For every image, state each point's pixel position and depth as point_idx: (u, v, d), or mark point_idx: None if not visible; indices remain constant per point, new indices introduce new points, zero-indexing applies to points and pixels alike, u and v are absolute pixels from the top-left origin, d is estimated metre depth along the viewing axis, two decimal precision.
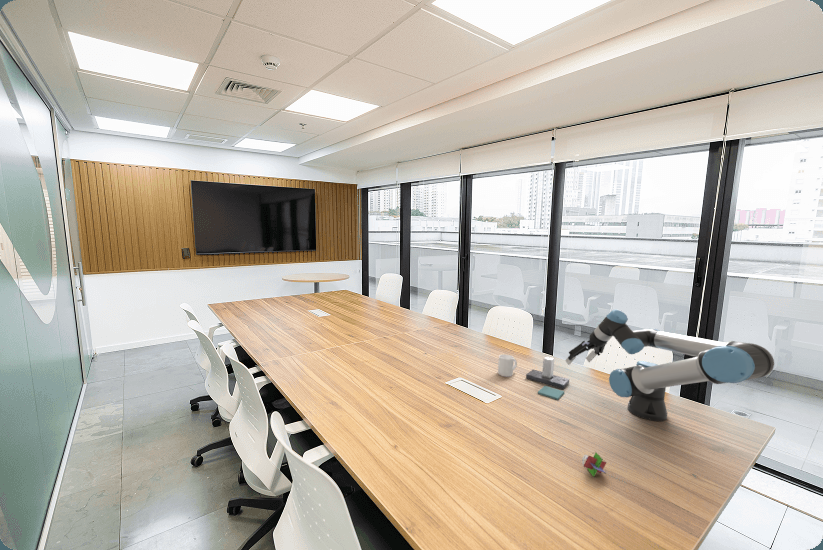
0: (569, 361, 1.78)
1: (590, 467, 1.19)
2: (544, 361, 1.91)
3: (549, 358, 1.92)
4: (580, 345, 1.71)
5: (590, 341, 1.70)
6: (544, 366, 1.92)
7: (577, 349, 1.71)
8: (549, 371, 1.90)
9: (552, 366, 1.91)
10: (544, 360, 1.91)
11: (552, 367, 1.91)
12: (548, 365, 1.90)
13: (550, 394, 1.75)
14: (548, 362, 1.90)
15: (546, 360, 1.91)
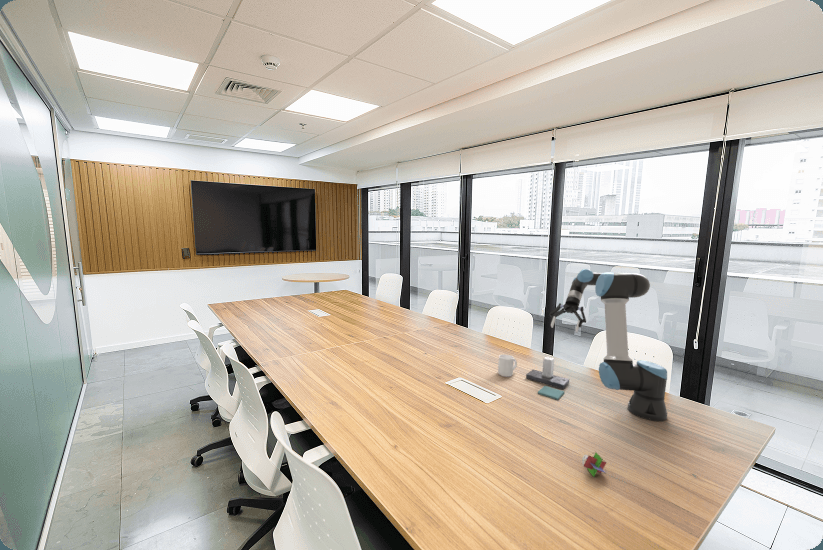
0: None
1: (590, 467, 1.19)
2: (544, 361, 1.92)
3: (549, 358, 1.92)
4: None
5: None
6: (544, 366, 1.92)
7: None
8: (549, 371, 1.90)
9: (552, 366, 1.91)
10: (544, 360, 1.91)
11: (552, 367, 1.91)
12: (548, 365, 1.90)
13: (550, 394, 1.75)
14: (548, 362, 1.90)
15: (546, 360, 1.91)
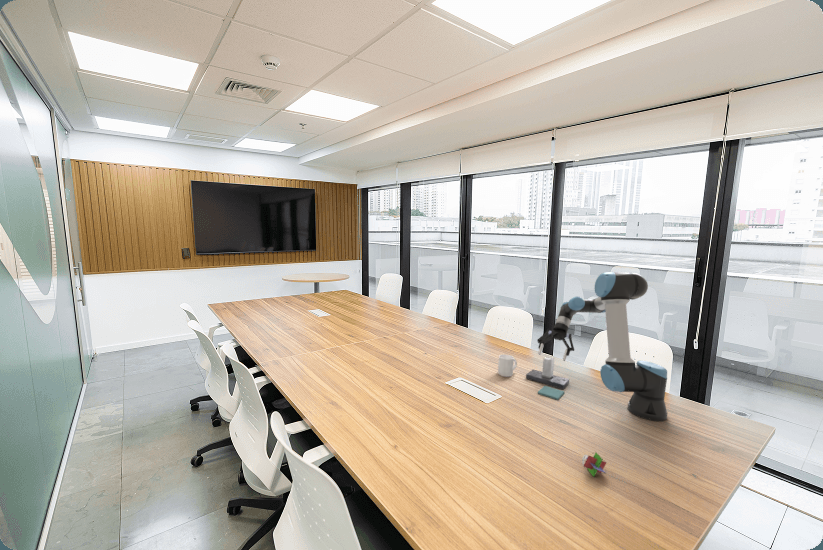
0: None
1: (590, 467, 1.19)
2: (544, 361, 1.91)
3: (549, 358, 1.92)
4: None
5: None
6: (544, 366, 1.92)
7: None
8: (549, 371, 1.90)
9: (552, 366, 1.91)
10: (544, 360, 1.91)
11: (552, 367, 1.91)
12: (548, 365, 1.90)
13: (550, 394, 1.75)
14: (548, 362, 1.90)
15: (546, 360, 1.91)
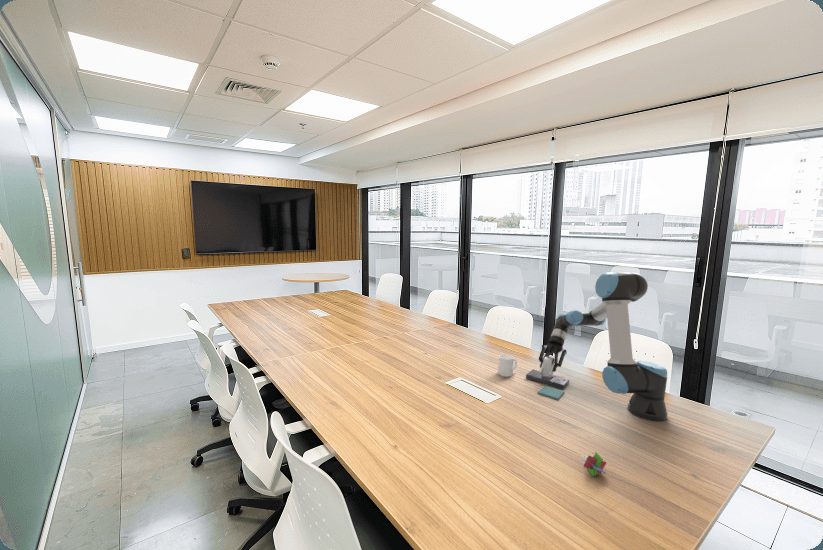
0: None
1: (590, 467, 1.19)
2: (544, 361, 1.91)
3: (549, 358, 1.92)
4: None
5: None
6: (544, 366, 1.92)
7: (541, 353, 1.99)
8: (549, 371, 1.90)
9: None
10: (544, 360, 1.91)
11: None
12: (548, 365, 1.90)
13: (550, 394, 1.75)
14: (548, 362, 1.90)
15: (546, 360, 1.91)
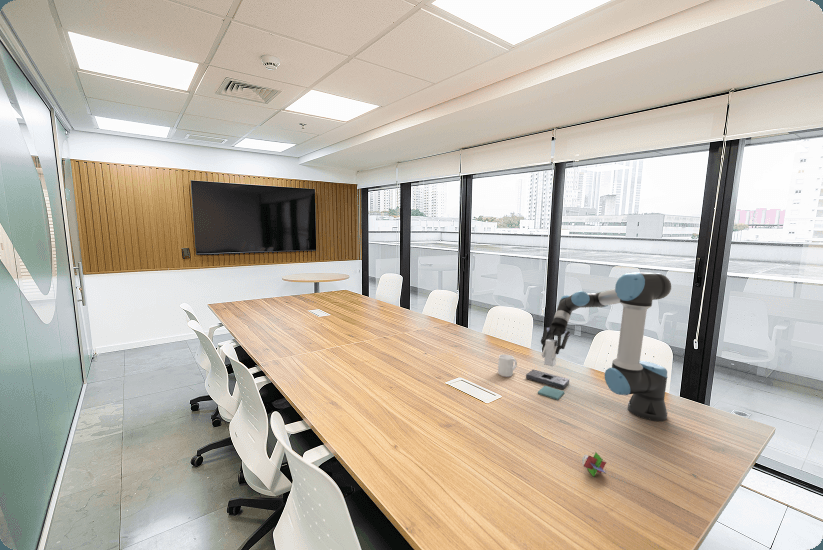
0: None
1: (590, 467, 1.19)
2: (546, 343, 1.83)
3: (552, 340, 1.83)
4: None
5: (550, 326, 1.92)
6: (546, 348, 1.83)
7: (543, 335, 1.90)
8: (552, 353, 1.81)
9: None
10: (546, 342, 1.82)
11: None
12: (551, 347, 1.81)
13: (550, 394, 1.75)
14: (551, 345, 1.81)
15: (548, 342, 1.82)
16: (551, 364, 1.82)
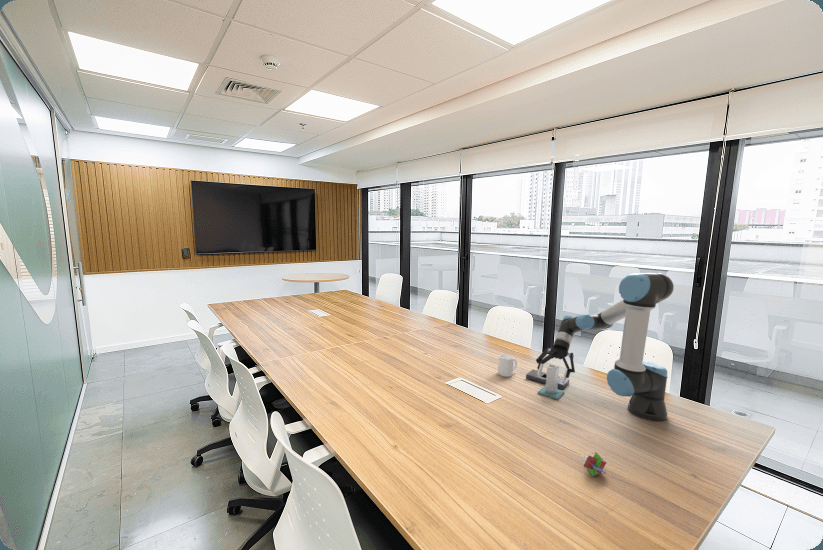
0: None
1: (590, 467, 1.19)
2: (548, 370, 1.76)
3: (553, 367, 1.76)
4: None
5: None
6: (548, 375, 1.76)
7: None
8: (553, 381, 1.75)
9: (557, 375, 1.76)
10: (548, 369, 1.76)
11: (557, 377, 1.76)
12: (552, 374, 1.75)
13: (550, 394, 1.75)
14: (552, 372, 1.75)
15: (550, 369, 1.75)
16: (552, 392, 1.75)
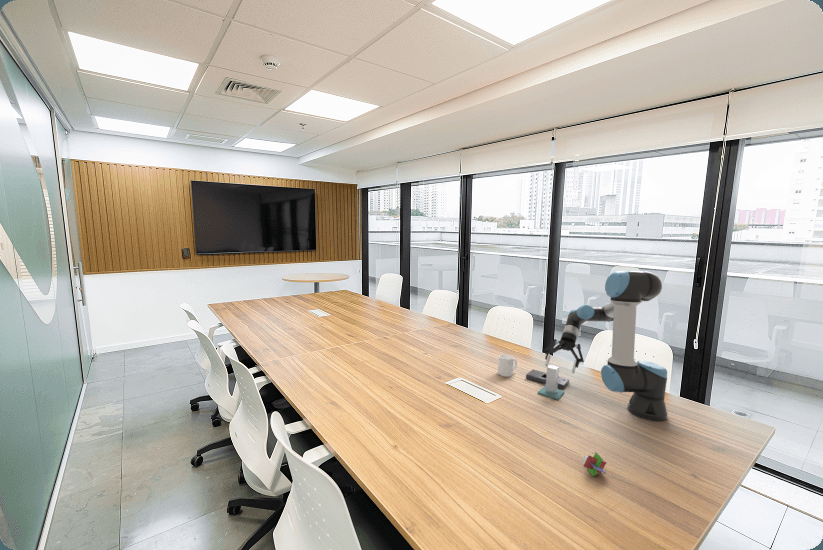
0: None
1: (590, 467, 1.19)
2: (548, 370, 1.76)
3: (553, 367, 1.76)
4: None
5: None
6: (548, 375, 1.76)
7: None
8: (553, 381, 1.75)
9: (557, 375, 1.76)
10: (548, 369, 1.76)
11: (557, 377, 1.76)
12: (552, 374, 1.75)
13: (550, 394, 1.75)
14: (552, 372, 1.75)
15: (550, 369, 1.75)
16: (552, 392, 1.75)
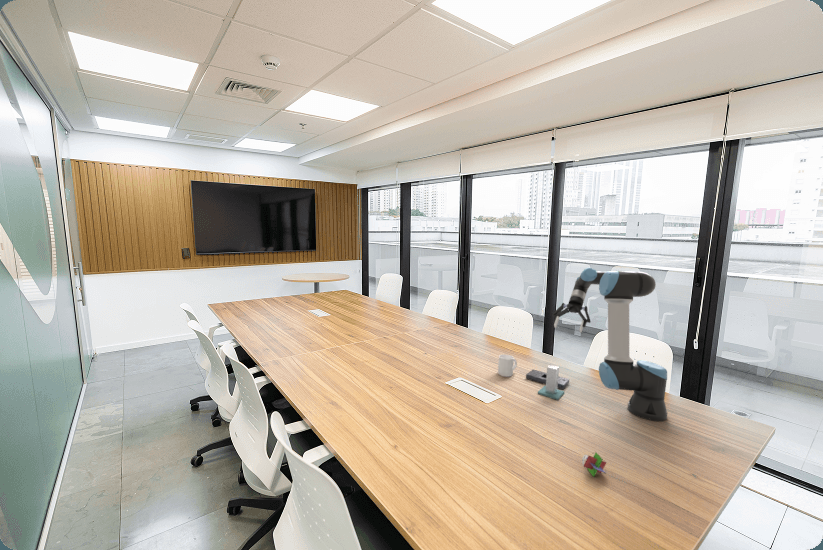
0: None
1: (590, 467, 1.19)
2: (548, 370, 1.76)
3: (553, 367, 1.76)
4: None
5: None
6: (548, 375, 1.76)
7: None
8: (553, 381, 1.75)
9: (557, 375, 1.76)
10: (548, 369, 1.76)
11: (557, 377, 1.76)
12: (552, 374, 1.75)
13: (550, 394, 1.75)
14: (552, 372, 1.75)
15: (550, 369, 1.75)
16: (552, 392, 1.75)
